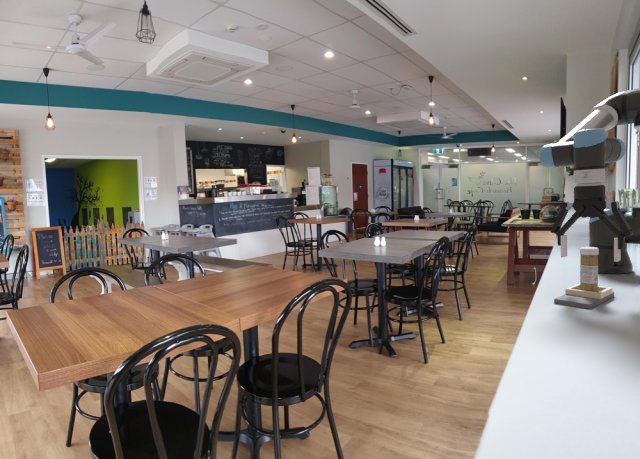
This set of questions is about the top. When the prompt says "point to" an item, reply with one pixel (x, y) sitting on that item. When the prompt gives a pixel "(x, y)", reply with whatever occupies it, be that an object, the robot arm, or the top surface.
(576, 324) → the top surface
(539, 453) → the top surface
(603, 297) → the slate base board
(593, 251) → the sprinkles bottle
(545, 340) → the top surface
